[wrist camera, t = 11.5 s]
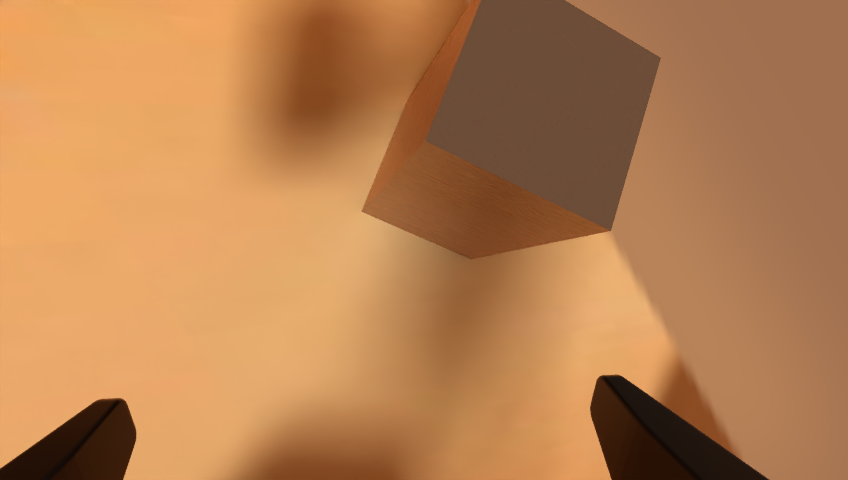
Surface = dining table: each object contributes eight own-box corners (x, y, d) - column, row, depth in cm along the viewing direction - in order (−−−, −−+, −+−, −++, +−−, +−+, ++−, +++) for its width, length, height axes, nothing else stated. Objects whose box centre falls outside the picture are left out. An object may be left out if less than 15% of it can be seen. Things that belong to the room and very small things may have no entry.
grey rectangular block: (470, 258, 24) (611, 230, 14) (361, 211, 23) (425, 141, 12) (507, 155, 25) (660, 58, 15) (406, 104, 24) (496, -40, 14)
